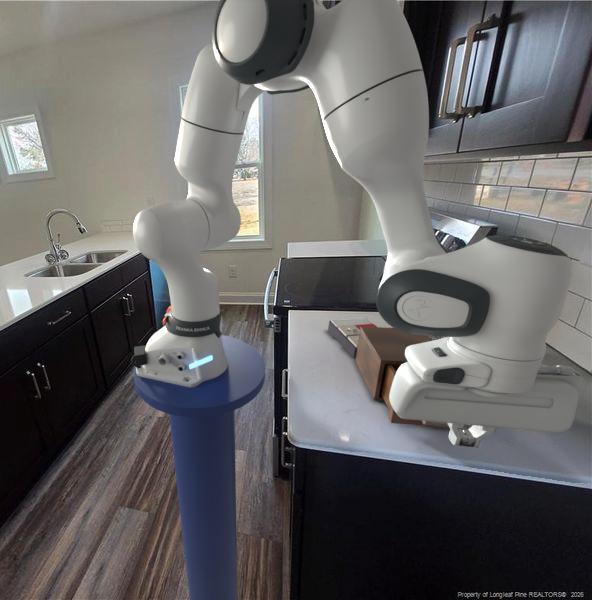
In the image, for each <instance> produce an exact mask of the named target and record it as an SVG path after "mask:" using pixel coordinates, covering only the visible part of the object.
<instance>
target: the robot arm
mask: <svg viewBox="0 0 592 600" xmlns="http://www.w3.org/2000/svg"><path fill="white" fill-rule="evenodd" d="M308 89H311V90H312V92H313V94H314V97H315V99H316V102H317V106H318V108H319V112H320V116H321V120H322V124H323V127H324V131H325V134H326V137H327V140H328V143H329V146H330V148H331V150H332V152H333V155H334V156H335V158H336V160H337V162H338V163H339V165H340V168H341V169H342V170H343V171H344V173H346V174H347V175H348V176H350V177H351V178H352V179H354V180H355V181H356V182H358V184H359V185H361V186H362V188H363V189H364V190H365V191H366V192H367V194H368V195H369V196H370V198H371V200H372V202H373V204H374V207H375V210H376V213H377V216H378V220H379V225H380V227H381V230H382V234H383V237H384V241H385V244H386V252H387V254H386V260H385V263H384V267H383V273H382V278H381V280H380V283H379V286H378V289H377V293H376V297H375V305H376V309H377V311H378V314H379V315H380V317H381V318H382V319H383V320H384V322H385V323H386V324H388V325H389V326H390V327H391V328H395V329H397V330H399V331H402V332H404V333H408V334H414V335H424V336H429V337H440V338H438V339H434V340H433V341H429V342H425V343H420V344H414V345H410V346H408V347H407V348H406V350H405V357H406V359H407V361H408V362H406V363H404V364H402V365H401V366H400V367H399V368H398V370H397V372H396V374H395V377H394V380H393V383H392V386H391V390H390V394H389V401H390V403H391V406H392V408H393V409H394V411H395V412H396V413H397V415H398V416H399V417H400V418H402V419H410V420H421V421H432V422H443V423H447V424H448V426H449V428H448V429H450V430H449V432H448V440H449V441H450V443H451V444H452V445H453V446H459V447H466V448H467V447H469V448H479V446H480V443H481V440H483V439H485V438H487V437H489V436H490V435H492V434H493V433H495V431H496V429H497V428H498V429H499V428H500V429H511V430H520V431H521V430H522V431H531V432H541V433H542V432H543V433H551V434H552V433H554V434H562V433H564V432H565V431H567V430H569V429H571V427H572V426H573V423H574V420H575V417H576V414H577V410H578V405H579V392H580V390H581V388H582V386H583V384H584V376H583V375H582V374H581V372H579V370H576V369H574V368H573V367H572V366H568V365H549V364H543V361H544V358H545V356H546V352H547V343H546V340H547V337H548V334H549V332H550V331H551V330H552V329H554V327H555V326H556V325H557V323H558V322H559V320H560V317H561V314H562V312H563V309H564V307H565V303H566V300H567V296H568V293H569V289H570V285H571V281H572V275H573V263H572V258H571V257H569V255H568V254H567V253H565V252H564V251H563V250H562V249H560V248H559V247H557V246H555V245H552V244H551V243H549V242H543V241H540V240H537V239H533V238H528V237H523V236H516V235H506V234H505V235H504V234H502V235H501V234H494V235H488V236H486V237H484V238H483V239H480V240H479V241H477V242H475V243H472V244H470V245H467V246H464V247H461V248H459V249H457V250H453V251H449V250H448V249H447V248H446V247H445V246H444V245H443V244H442V243H441V242H440V241H439V239H438V236H437V234H436V232H435V228H434V226H433V221H432V217H431V212H430V209H429V204H428V201H427V197H426V192H425V188H424V166H425V159H426V154H427V153H426V152H427V148H428V143H429V134H430V133H429V132H430V107H429V97H428V88H427V83H426V77H425V73H424V69H423V65H422V61H421V58H420V53H419V49H418V47H417V44H416V41H415V38H414V35H413V33H412V31H411V28H410V25H409V23H408V21H407V18H406V17H405V14H404V12H403V10H402V8H401V6H400V4H399V2H398V0H341V1H339V2H338V3H337V4H335V5H333V6H332V7H330V8H329V7H328V6H327V5H325V4H323V2H322V1H321V0H219V3H218V4H217V8H216V9H215V13H214V17H213V22H212V30H211V43H208V44H207V45H205V46H204V47H203V48H202V49H201V50H200V51H199V53H198V54H197V57H196V60H195V63H194V66H193V69H192V72H191V74H190V78H189V82H188V85H187V89H186V93H185V97H184V102H183V105H182V106H183V107H182V110H181V111H182V112H181V117H180V118H181V119H180V124H179V129H178V136H177V141H176V148H175V155H174V164H175V168H176V170H177V171H178V173H179V175H180V176H181V177H182V178H183V179H184V180H186V181H187V183H188V194H187V197H186V198H185V199H181V200H174V201H173V200H172V201H166V202H160V203H157V204H154V205H152V206H149V207H146V208H145V209H142V210H140V211H138V213H137V215H136V216H135V219H134V221H133V225H132V237H133V241H134V245H135V246H136V248H137V249H138V251H139V252H140V253H141V255H143V256H144V257H145V258H146V259H148V260H150V261H151V262H153V263H155V265H157V266H158V268H159V269H160V271H161V272H162V274H163V275H164V277H165V280H166V282H167V286H168V292H169V300H170V301H169V302H170V305H169V306H168V308H167V309H166V313H165V314H164V316H163V319H162V327H161V328H160V329H158V330H157V331H155V332H154V333H153V334H152V335H151V336H150V338H149V339H148V341H147V343H146V345H139V346H138V345H137V346H134V347H133V349H134V351H133V352H134V354H133V355H132V357H131V359H130V363H131V365H132V367H134V368H135V367H136V373H137V375H138V376H140V377H144V378H149V379H153V380H158V381H163V382H167V383H172V384H176V385H181V386H186V387H191V388H192V387H196V386H198V385H199V384H201V383H202V382H204V381H207V380H210V379H213V378H216V377H218V376H219V375H221V374H222V373H223V372H224V371H225V370H226V369H227V367H228V360H227V358H226V355H225V352H224V348H223V343H222V336H221V335H223V315H222V310H221V308H220V283H219V280H218V277H217V276H216V274H215V273H213V272H212V271H211V270H209V269H206V268H205V267H204V266H203V263H202V259H201V252H204V251H207V250H212V249H215V248H219V247H221V246H224V245H225V244H227V243H229V241H232V240H233V239H235V237H236V236H238V234H239V232H240V229H241V226H242V225H241V224H242V218H241V217H242V216H241V213H240V210H239V208H238V205H236V203H235V202H234V198H233V197H234V196H233V181H234V179H233V178H234V173H235V168H236V164H237V162H238V161H237V160H238V156H239V152H240V149H241V145H242V141H243V138H244V133H245V130H246V127H247V123H248V119H249V115H250V112H251V109H252V107H253V105H254V103H255V101H256V99H257V98H258V97H259V96H261V95H262V94H263V93H265V92H266V93H267V94H268V95H273V96H274V95H281V94H291V93H293V94H294V93H297V92H302V91H304V90H308ZM464 424H465V425H469V426H470V427H468V428H467V429H465V428H464V429H463V427H464ZM458 428H460V429H458Z"/></svg>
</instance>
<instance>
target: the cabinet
mask: <svg viewBox="0 0 592 600" xmlns="http://www.w3.org/2000/svg"><path fill="white" fill-rule="evenodd" d="M429 341H434V340H433V339H432V338H431V336H424V335H414V334H408V333H404V332H402V331H399V330H397V329H395V328H393V327H381V326H380V327H379V326H377V327H360V334H359V341H358V348H357V355H356V359H355V363H356V366H357V368H358V370H359V372H360V374H361V376H362V378H363V380H364V382H365V385H366V387H367V389H368V391H369V393H370V395H371V397H372V400H373V401H379V402H385V401H384V399H383V397H382V395H381V393H380V387H381V382H382V377H383V371H384V366H385V364H398V365H402V364H404V363H406V362H408V361H407V359H406V357H405V350H406V348H407V347H408V346H410V345H414V344H420V343H425V342H429Z"/></svg>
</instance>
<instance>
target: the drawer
mask: <svg viewBox="0 0 592 600" xmlns="http://www.w3.org/2000/svg"><path fill="white" fill-rule="evenodd" d="M400 366H401V365H398V364H385V366H384V371H383V377H382V382H381V387H380V393H381V395H382V397H383V399H384V401H383V402H384V403H385V405H386V406H387V409H388V410H389V414H388V420H389V422H390V423H391V424H400V425H410V426H419V427H431V428H442V429H450V428H449V426H448V424H447V423H443V422H432V421H421V420H410V419H402V418H400V417H399V416H398V415H397V413H396V412H395V411H394V409H393V408H392V406H391V403H390V401H389V394H390V390H391V386H392V383H393V380H394V377H395V374H396V372H397V370H398V368H399V367H400ZM469 428H470V425H465V424H464V427H463V429H464V430H465V429H469ZM458 429H460V428H458Z"/></svg>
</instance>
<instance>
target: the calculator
mask: <svg viewBox="0 0 592 600" xmlns="http://www.w3.org/2000/svg"><path fill="white" fill-rule="evenodd" d="M360 327H378V326H377V325H376V324H374V323H372V322H371V321H370V320H369V319H368V318H366V317H357V318H355V317H354V318H345V319H344V318H343V319H341V318H340V319H332V320H329V321H328V327H327V333H328V334H329V335H330V336H331V337H332V338H335V340H336V341H337V342H338V343H339V344H340V345H341V346H342V347H343V348H344V350H346V352H347V353H348V354H349V355H350V356H351V357H352V358H353V359H355V360H356V355H357V348H358V341H359V334H360Z"/></svg>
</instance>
